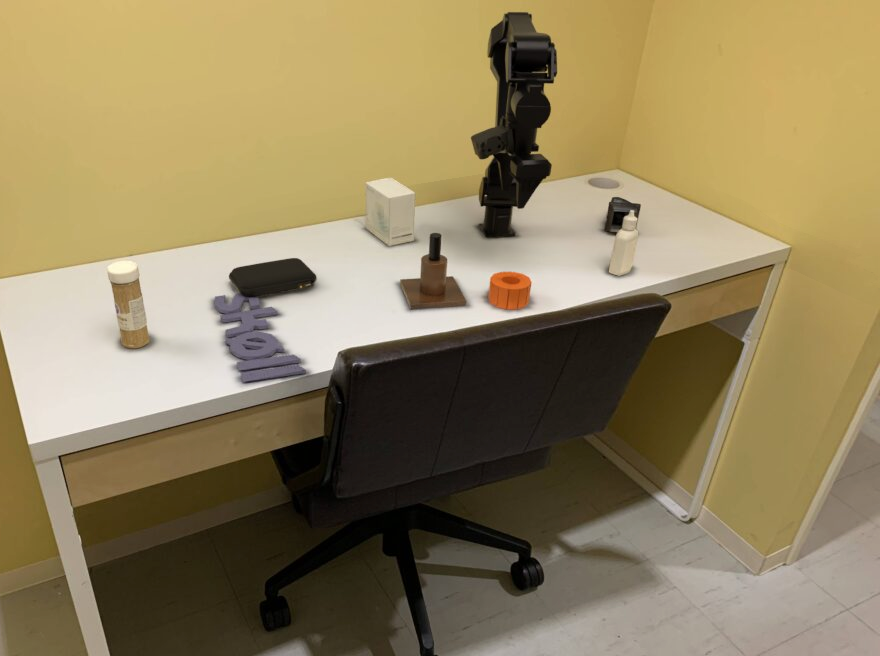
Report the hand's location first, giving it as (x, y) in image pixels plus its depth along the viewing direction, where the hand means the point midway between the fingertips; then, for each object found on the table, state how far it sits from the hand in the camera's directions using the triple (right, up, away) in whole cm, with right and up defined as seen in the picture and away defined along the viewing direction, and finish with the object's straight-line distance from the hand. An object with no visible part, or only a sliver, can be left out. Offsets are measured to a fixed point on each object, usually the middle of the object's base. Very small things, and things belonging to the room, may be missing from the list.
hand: (512, 199), depth 142 cm
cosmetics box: (-22, -3, +19) cm, 29 cm away
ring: (-2, -19, -6) cm, 20 cm away
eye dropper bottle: (+22, -13, +5) cm, 26 cm away
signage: (-45, -26, -16) cm, 55 cm away
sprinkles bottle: (-64, -28, -19) cm, 72 cm away
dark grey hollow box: (+27, 0, +23) cm, 36 cm away
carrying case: (-44, -16, -2) cm, 47 cm away
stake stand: (-15, -18, -4) cm, 24 cm away
